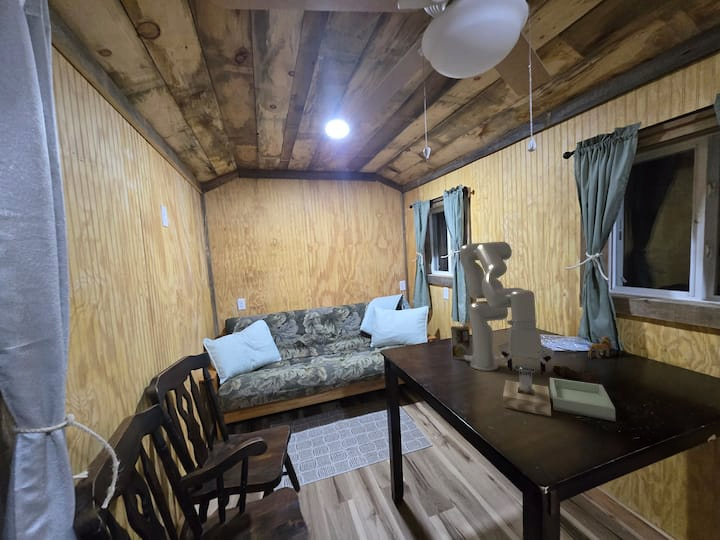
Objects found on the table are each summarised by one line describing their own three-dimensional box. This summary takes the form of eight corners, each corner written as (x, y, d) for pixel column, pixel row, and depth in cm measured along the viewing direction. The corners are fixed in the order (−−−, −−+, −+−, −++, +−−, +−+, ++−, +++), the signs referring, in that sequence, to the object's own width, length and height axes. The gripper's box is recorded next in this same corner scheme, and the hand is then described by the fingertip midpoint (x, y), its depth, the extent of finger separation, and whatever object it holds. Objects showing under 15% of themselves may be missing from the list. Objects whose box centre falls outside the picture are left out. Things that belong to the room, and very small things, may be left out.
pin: (516, 404, 101) (515, 368, 100) (517, 396, 106) (515, 362, 105) (536, 407, 98) (535, 371, 97) (536, 399, 103) (534, 365, 102)
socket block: (503, 407, 99) (503, 396, 99) (506, 390, 111) (505, 380, 111) (551, 416, 92) (550, 404, 92) (548, 397, 104) (548, 386, 104)
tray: (553, 409, 96) (553, 398, 96) (550, 387, 111) (549, 377, 111) (615, 421, 88) (615, 408, 87) (602, 395, 103) (602, 384, 103)
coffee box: (470, 355, 150) (468, 326, 150) (470, 360, 144) (469, 329, 144) (452, 354, 153) (451, 325, 153) (452, 359, 147) (450, 328, 147)
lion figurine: (602, 352, 144) (601, 334, 144) (615, 355, 139) (614, 337, 139) (584, 357, 139) (584, 339, 139) (597, 360, 134) (596, 342, 134)
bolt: (556, 376, 124) (595, 389, 110) (549, 373, 122) (588, 385, 108) (559, 364, 125) (598, 375, 111) (552, 360, 123) (591, 371, 110)
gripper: (496, 325, 102) (498, 372, 102) (553, 328, 93) (556, 379, 93) (498, 321, 108) (500, 365, 108) (552, 323, 99) (554, 371, 99)
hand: (526, 371), depth 101 cm, fingers open, 9 cm apart
